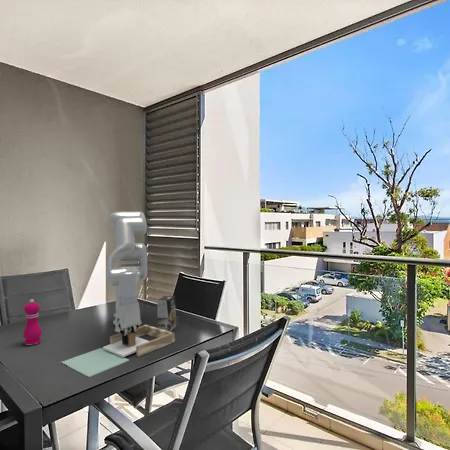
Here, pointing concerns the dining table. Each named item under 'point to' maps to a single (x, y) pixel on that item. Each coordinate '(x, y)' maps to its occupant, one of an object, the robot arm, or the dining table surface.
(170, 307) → the coffee box
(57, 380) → the dining table surface
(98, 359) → the sage mat
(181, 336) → the dining table surface
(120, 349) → the cover plate
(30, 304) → the pepper mill
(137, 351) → the open-sided wooden frame
